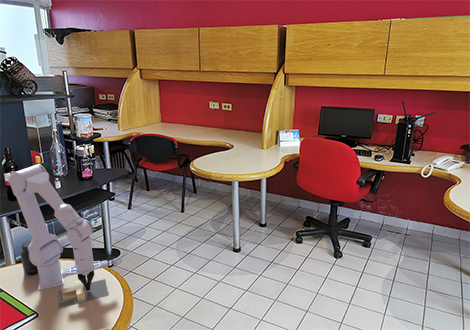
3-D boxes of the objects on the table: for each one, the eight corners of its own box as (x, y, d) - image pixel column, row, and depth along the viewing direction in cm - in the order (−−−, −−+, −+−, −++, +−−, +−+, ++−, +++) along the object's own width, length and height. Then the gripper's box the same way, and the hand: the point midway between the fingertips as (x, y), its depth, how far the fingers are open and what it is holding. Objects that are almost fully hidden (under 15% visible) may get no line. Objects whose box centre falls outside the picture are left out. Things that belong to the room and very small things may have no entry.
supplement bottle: (26, 267, 136) (20, 240, 132) (45, 264, 138) (40, 237, 135) (22, 277, 130) (16, 249, 126) (43, 274, 132) (37, 246, 128)
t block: (62, 291, 123) (61, 284, 122) (84, 286, 126) (83, 279, 125) (63, 305, 116) (61, 298, 115) (85, 299, 119) (84, 292, 118)
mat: (59, 291, 123) (59, 290, 123) (105, 279, 130) (105, 279, 130) (59, 309, 115) (59, 308, 115) (108, 296, 121) (108, 295, 121)
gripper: (59, 267, 112) (65, 302, 116) (107, 256, 118) (111, 290, 122) (59, 255, 118) (65, 289, 122) (104, 246, 124) (108, 278, 128)
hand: (88, 289), depth 122 cm, fingers closed
